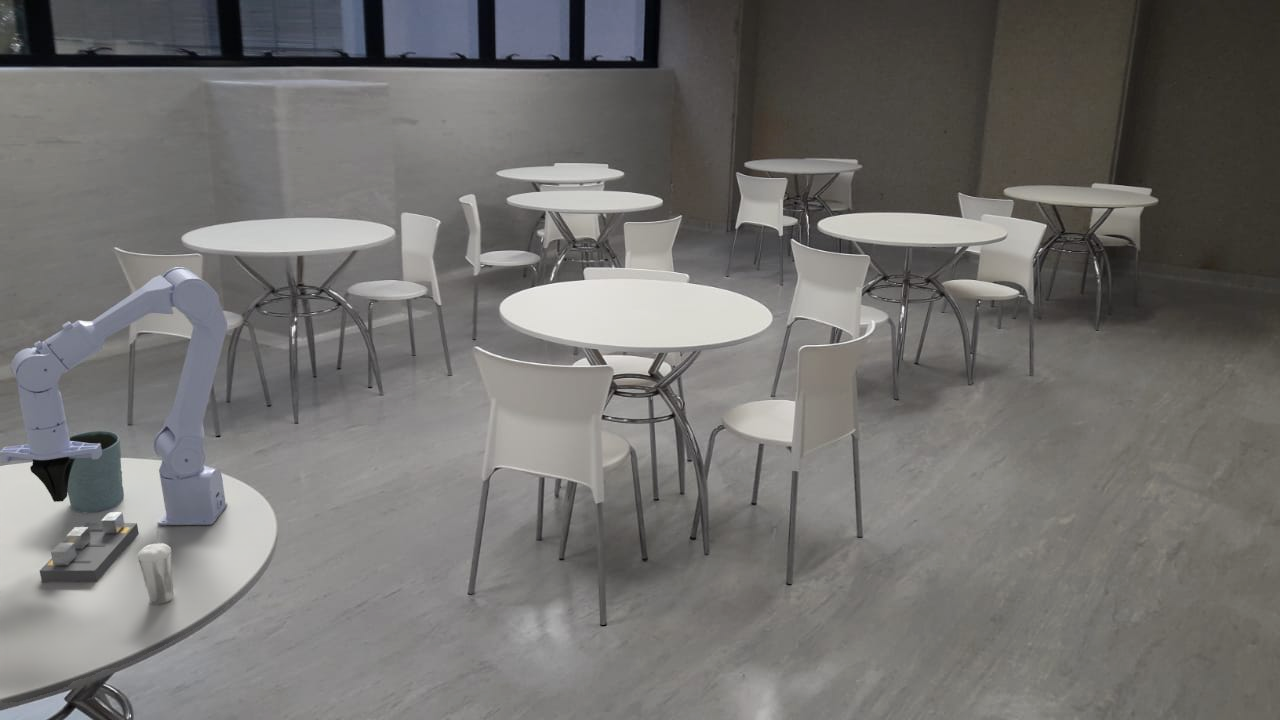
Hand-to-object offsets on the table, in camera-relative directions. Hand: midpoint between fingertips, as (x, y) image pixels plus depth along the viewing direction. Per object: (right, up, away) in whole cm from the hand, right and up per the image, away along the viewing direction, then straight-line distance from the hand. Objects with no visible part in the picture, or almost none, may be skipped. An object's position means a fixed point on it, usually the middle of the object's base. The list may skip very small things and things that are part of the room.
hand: (60, 498), depth 163 cm
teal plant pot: (-3, -3, +18) cm, 19 cm away
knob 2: (+3, -8, 0) cm, 8 cm away
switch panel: (+5, -10, 0) cm, 11 cm away
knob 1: (+4, -9, -5) cm, 11 cm away
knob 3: (+6, -6, +4) cm, 10 cm away
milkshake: (+22, -14, -10) cm, 28 cm away
